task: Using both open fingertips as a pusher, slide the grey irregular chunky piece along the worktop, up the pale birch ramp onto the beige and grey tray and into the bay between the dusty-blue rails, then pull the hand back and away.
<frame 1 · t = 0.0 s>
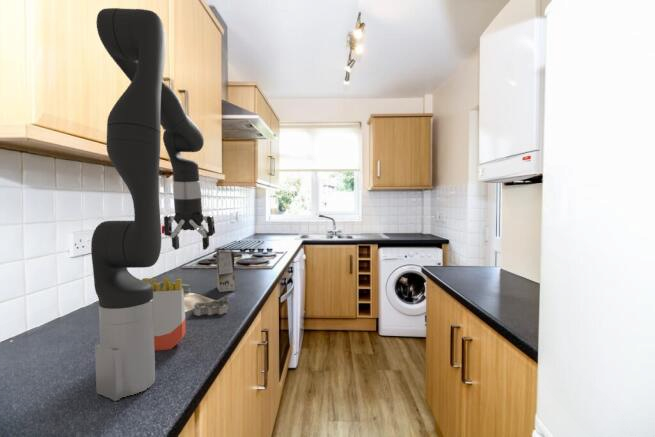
hand: (191, 248, 101), 22 cm above the countertop, tool pointing down, fingers open, 8 cm apart
coffee box: (225, 289, 138), on the countertop
grey irregular chunky piece: (211, 313, 110), on the countertop
french fries container: (161, 347, 84), on the countertop
beige and grey tray: (158, 301, 121), on the countertop
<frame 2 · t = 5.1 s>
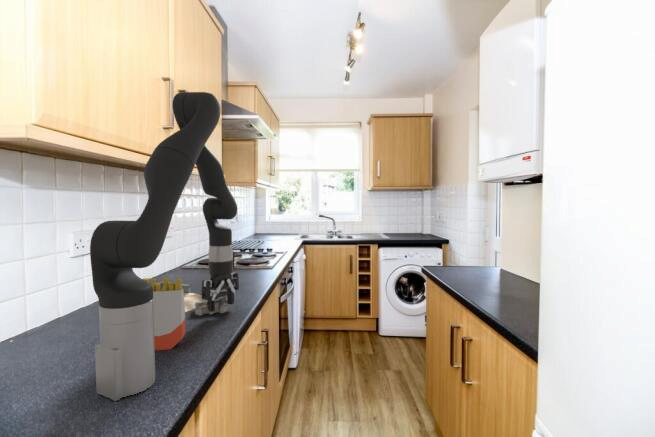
hand: (221, 307, 108), 2 cm above the countertop, tool pointing down, fingers open, 8 cm apart
grey irregular chunky piece: (211, 312, 111), on the countertop, touching gripper
everything else where it was.
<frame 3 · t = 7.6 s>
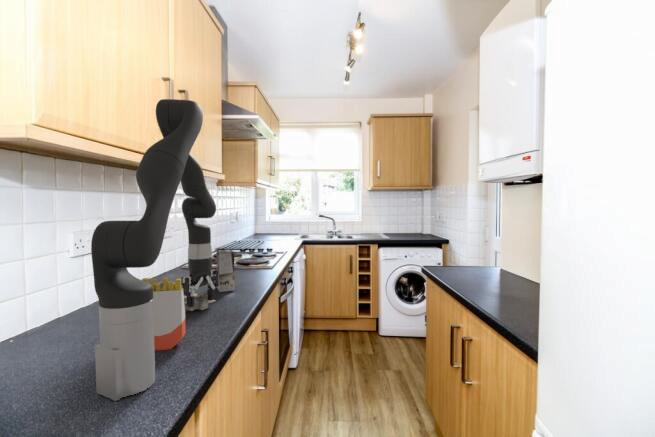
hand: (201, 303, 112), 2 cm above the countertop, tool pointing down
grey irregular chunky piece: (191, 308, 113), on the countertop, touching gripper
everything else where it was.
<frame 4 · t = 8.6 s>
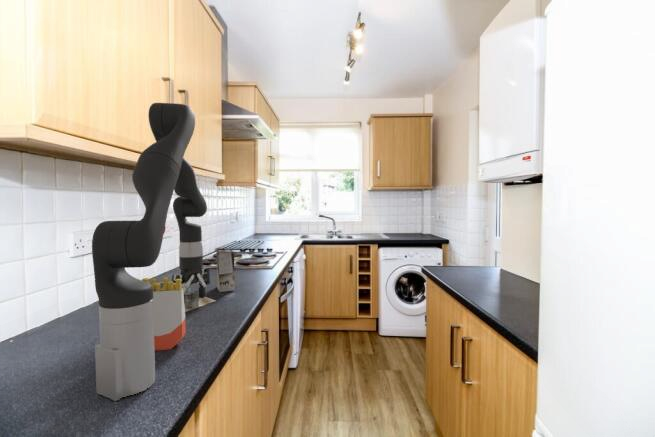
hand: (192, 300, 114), 2 cm above the countertop, tool pointing down
grey irregular chunky piece: (182, 305, 115), on the countertop, touching gripper, beige and grey tray
everything else where it was.
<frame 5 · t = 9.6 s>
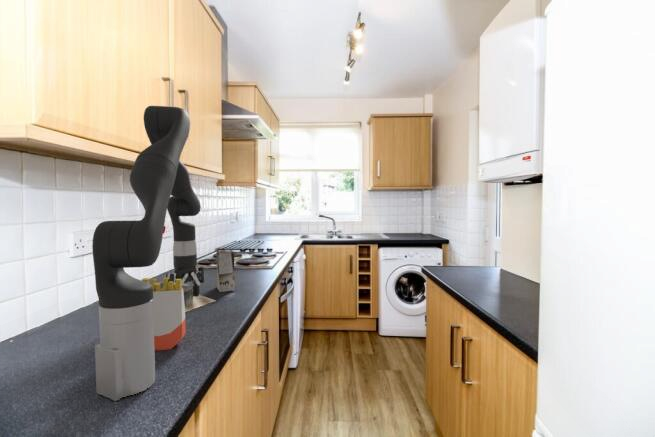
hand: (186, 299, 115), 3 cm above the countertop, tool pointing down
grey irregular chunky piece: (177, 303, 116), point 1 cm above the countertop, touching gripper
everything else where it was.
when the fingers open (3 cm above the countertop, at t = 11.0 s): grey irregular chunky piece moves 1 cm, resting on beige and grey tray.
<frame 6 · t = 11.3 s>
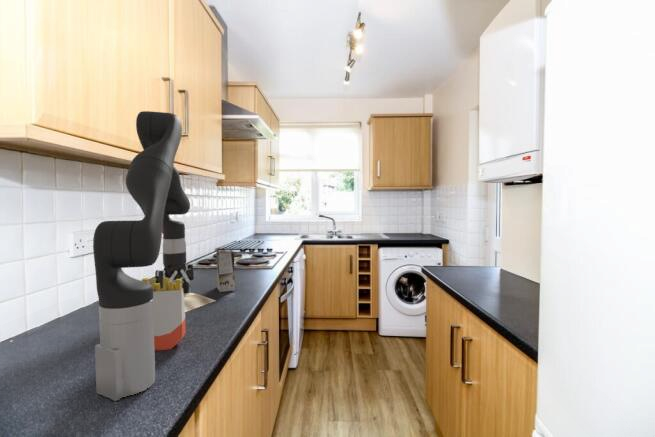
hand: (175, 296, 117), 3 cm above the countertop, tool pointing down, fingers open, 8 cm apart
grey irregular chunky piece: (167, 300, 118), point 1 cm above the countertop, touching gripper, beige and grey tray
everything else where it was.
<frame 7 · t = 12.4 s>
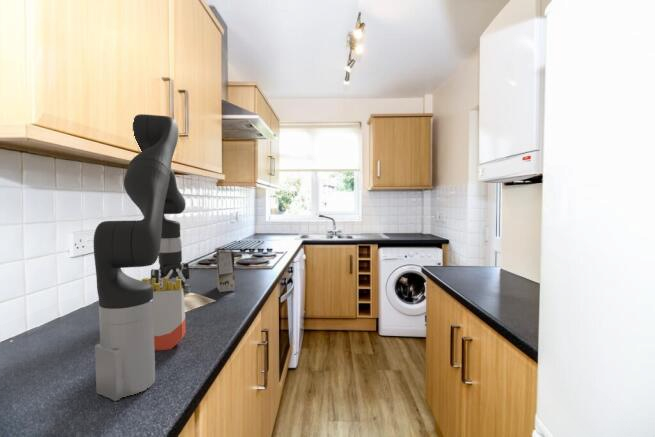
hand: (171, 294, 118), 3 cm above the countertop, tool pointing down
grey irregular chunky piece: (163, 300, 119), point 1 cm above the countertop, touching gripper, beige and grey tray
everything else where it was.
when the fingers open (3 cm above the countertop, at t = 12.7 s): grey irregular chunky piece stays where it is, resting on beige and grey tray.
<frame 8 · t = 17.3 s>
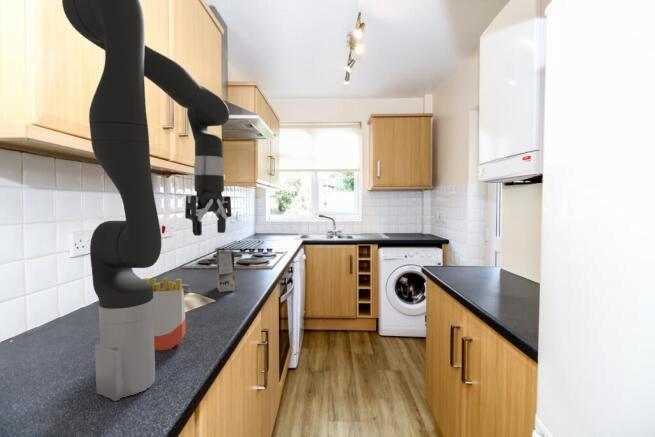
hand: (210, 234, 90), 28 cm above the countertop, tool pointing down, fingers open, 8 cm apart
grey irregular chunky piece: (163, 300, 119), point 1 cm above the countertop, touching beige and grey tray
everything else where it was.
at the end: grey irregular chunky piece inside the target area (4.5 cm from its centre), point 1.0 cm above the countertop; grey irregular chunky piece touching beige and grey tray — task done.
